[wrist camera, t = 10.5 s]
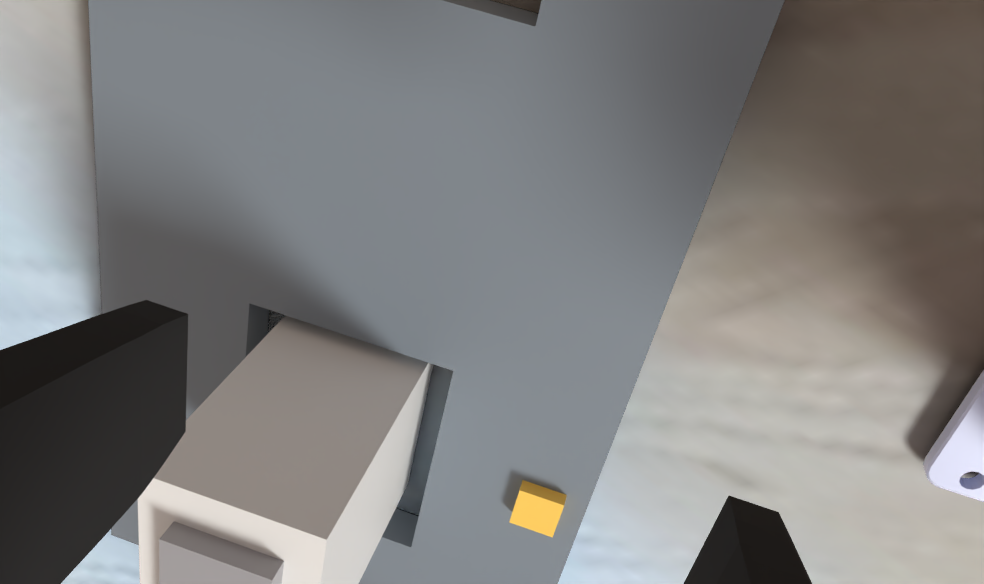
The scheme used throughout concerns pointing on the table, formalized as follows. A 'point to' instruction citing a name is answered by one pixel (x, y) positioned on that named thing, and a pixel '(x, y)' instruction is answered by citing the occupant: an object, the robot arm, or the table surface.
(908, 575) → the table surface
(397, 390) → the plug
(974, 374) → the table surface
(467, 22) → the panel
